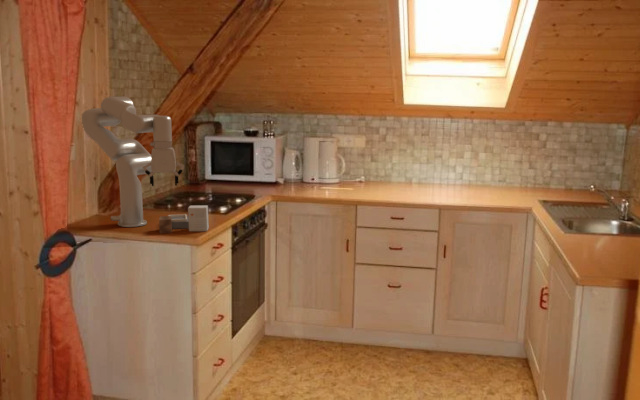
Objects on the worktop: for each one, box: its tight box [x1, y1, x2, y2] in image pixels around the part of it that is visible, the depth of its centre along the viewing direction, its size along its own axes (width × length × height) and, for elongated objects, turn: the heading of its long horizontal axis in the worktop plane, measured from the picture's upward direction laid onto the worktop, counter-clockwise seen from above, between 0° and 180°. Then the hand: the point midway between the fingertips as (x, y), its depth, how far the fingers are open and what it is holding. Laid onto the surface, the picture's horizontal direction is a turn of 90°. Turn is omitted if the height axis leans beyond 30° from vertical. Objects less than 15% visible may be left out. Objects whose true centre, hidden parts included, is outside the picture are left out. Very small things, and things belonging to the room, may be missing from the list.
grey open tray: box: [167, 213, 189, 230], centre depth 275 cm, size 10×12×4 cm
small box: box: [187, 204, 210, 232], centre depth 267 cm, size 8×6×10 cm
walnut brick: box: [158, 215, 173, 234], centre depth 265 cm, size 5×7×6 cm
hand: (164, 185), depth 261 cm, fingers open, 9 cm apart
